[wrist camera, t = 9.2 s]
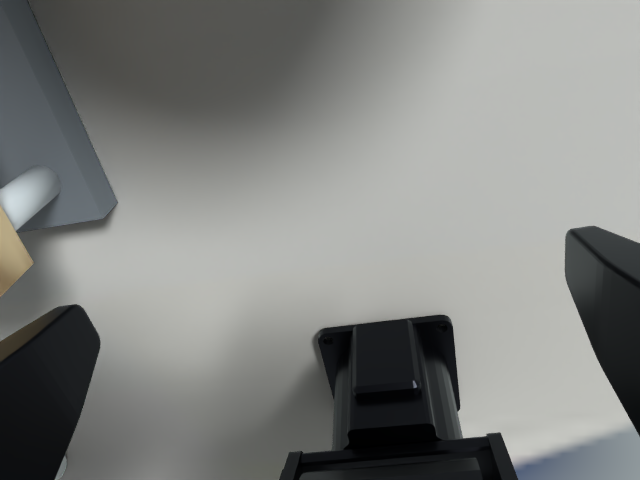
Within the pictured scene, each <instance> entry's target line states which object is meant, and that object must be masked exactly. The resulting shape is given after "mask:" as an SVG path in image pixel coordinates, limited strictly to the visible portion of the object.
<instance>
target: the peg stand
mask: <svg viewBox="0 0 640 480" xmlns="http://www.w3.org/2000/svg"><path fill="white" fill-rule="evenodd" d="M117 203H118V202H117V200H116V197H115V195H114V193H113V191H112V188H111V186H110V184H109V182H108V180H107V177H106V175H105V173H104V171H103V168H102V166H101V164H100V162H99V160H98V157H97V155H96V153H95V151H94V148H93V146H92V144H91V142H90V140H89V137H88V135H87V133H86V131H85V128H84V126H83V124H82V122H81V120H80V117H79V115H78V113H77V111H76V108H75V106H74V104H73V102H72V100H71V97H70V95H69V93H68V91H67V88H66V86H65V84H64V82H63V80H62V77H61V75H60V73H59V71H58V68H57V66H56V64H55V62H54V60H53V57H52V55H51V53H50V51H49V48H48V46H47V44H46V42H45V40H44V37H43V35H42V33H41V31H40V28H39V26H38V24H37V22H36V20H35V17H34V15H33V13H32V11H31V8H30V6H29V4H28V2H27V0H0V205H1V207H2V209H3V211H4V212H5V214H6V216H7V217H8V219H9V221H10V223H11V224H12V226H13V228H14V230H15V231H16V233H18V232H24V231H30V230H36V229H43V228H49V227H55V226H61V225H67V224H74V223H80V222H86V221H92V220H98V219H103V218H104V217H105V216H106V215H107V214H108V213H109V212H110V211H111V209H112V208H113V207H114V206H115V205H116V204H117Z"/></svg>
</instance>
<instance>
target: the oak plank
mask: <svg viewBox="0 0 640 480" xmlns="http://www.w3.org/2000/svg"><path fill="white" fill-rule="evenodd" d="M33 263H34V262H33V261H32V259H31V257H30V255H29V254H28V252H27V250H26V249H25V247H24V245H23V243H22V242H21V240H20V238H19V236H18V235H17V233H16V231H15V230H14V228H13V226H12V224H11V223H10V221H9V219H8V217H7V216H6V214H5V212H4V211H3V209H2V207H1V205H0V297H1V296H2V295H3V294H4V293H5V292H6V291H7V290H8V289H9V288H10V287H11V286H12V285H13V284H14V283H15V282H16V281H17V280H18V279H19V278H20V277H21V276H22V275H23V274H24V273H25V272H26V271H27V270H28V269H29V268H30V267H31V266H32V264H33Z"/></svg>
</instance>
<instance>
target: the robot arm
mask: <svg viewBox="0 0 640 480" xmlns="http://www.w3.org/2000/svg"><path fill="white" fill-rule="evenodd" d="M565 277H566V281H567V285H568V287H569V290H570V292H571V295H572V297H573V300H574V302H575V305H576V307H577V310H578V312H579V315H580V317H581V320H582V322H583V325H584V327H585V330H586V332H587V335H588V338H589V340H590V343H591V345H592V348H593V350H594V352H595V355H596V357H597V359H598V361H599V363H600V365H601V367H602V369H603V371H604V373H605V375H606V376H607V378H608V380H609V382H610V384H611V385H612V387H613V389H614V391H615V393H616V394H617V396H618V398H619V400H620V402H621V403H622V405H623V407H624V409H625V411H626V412H627V414H628V416H629V418H630V420H631V421H632V423H633V425H634V427H635V429H636V431H637V432H638V434H639V436H640V243H637V242H635V241H632V240H630V239H627V238H625V237H622V236H619V235H617V234H614V233H612V232H609V231H606V230H604V229H601V228H599V227H596V226H587V227H581V228H574V229H570V230H569V231H568V232H567V234H566V239H565ZM441 324H444V325H445V326H443V327H438V325H441ZM326 337H330V338H332V339H330V340H329V339H325V338H326ZM318 343H319V347H320V350H321V354H322V358H323V361H324V365H325V369H326V372H327V376H328V380H329V384H330V387H331V391H332V395H333V398H334V419H333V440H332V451H323V452H312V453H303V452H302V451H298V452H289V455H288V458H287V461H286V464H285V467H284V469H283V470H282V473H281V476H280V479H279V480H518V478H517V476H516V473H515V470H514V467H513V465H512V462H511V459H510V457H509V454H508V451H507V449H506V446H505V443H504V441H503V438H502V435H501V433H489V434H487V436H484V437H473V438H463V436H462V431H461V427H460V422H459V417H458V411H459V410H460V399H459V388H458V378H457V367H456V356H455V345H454V335H453V326H452V322H451V319H450V318H449V317H448V316H445V315H435V316H426V317H417V318H409V319H400V320H392V321H383V322H374V323H366V324H357V325H348V326H340V327H331V328H325V329H322V330H321V331H320V333H319V337H318ZM99 350H100V338H99V335H98V333H97V331H96V329H95V328H94V326H93V324H92V322H91V321H90V319H89V317H88V315H87V314H86V312H85V310H84V309H83V308H82V307H81V306H80V305H77V304H73V305H66V306H60V307H57V308H55V309H53V310H51V311H50V312H48V313H46V314H45V315H43V316H42V317H40V318H38V319H37V320H35V321H33V322H32V323H30V324H28V325H27V326H25V327H23V328H22V329H20V330H18V331H17V332H15V333H13V334H12V335H10V336H9V337H7V338H5V339H4V340H2V341H0V480H55V478H56V476H57V473H58V471H59V468H60V466H61V463H62V461H63V458H64V456H65V453H66V451H67V448H68V446H69V443H70V441H71V438H72V436H73V433H74V431H75V428H76V426H77V423H78V420H79V418H80V415H81V411H82V408H83V405H84V402H85V398H86V395H87V391H88V388H89V384H90V381H91V377H92V374H93V370H94V367H95V364H96V360H97V357H98V353H99Z"/></svg>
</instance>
